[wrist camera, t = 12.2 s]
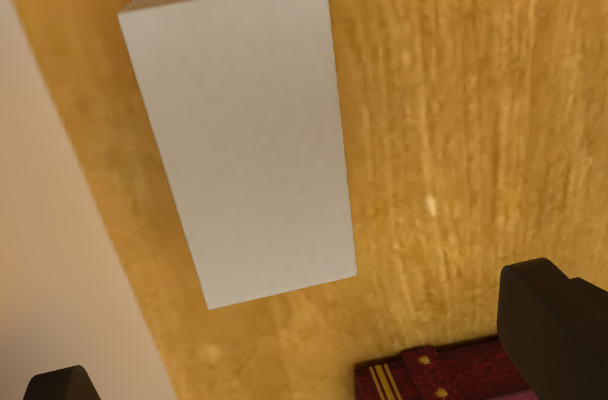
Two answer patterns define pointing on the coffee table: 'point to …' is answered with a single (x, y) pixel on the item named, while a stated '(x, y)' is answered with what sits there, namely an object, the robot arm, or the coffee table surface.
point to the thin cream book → (248, 139)
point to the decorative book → (445, 376)
